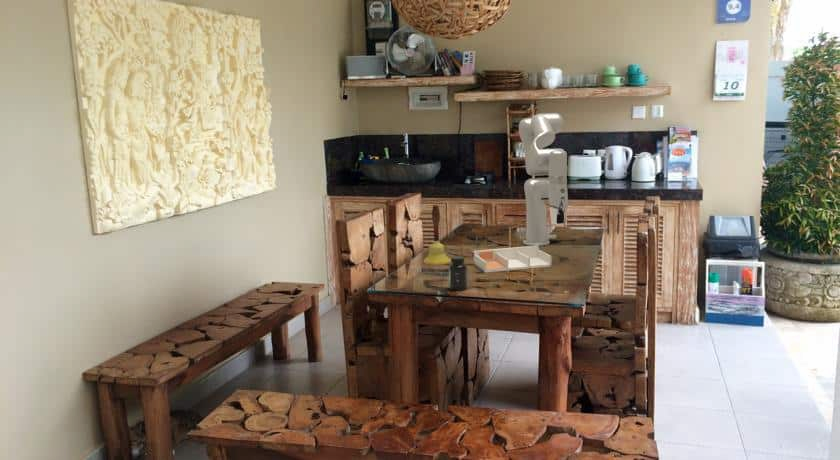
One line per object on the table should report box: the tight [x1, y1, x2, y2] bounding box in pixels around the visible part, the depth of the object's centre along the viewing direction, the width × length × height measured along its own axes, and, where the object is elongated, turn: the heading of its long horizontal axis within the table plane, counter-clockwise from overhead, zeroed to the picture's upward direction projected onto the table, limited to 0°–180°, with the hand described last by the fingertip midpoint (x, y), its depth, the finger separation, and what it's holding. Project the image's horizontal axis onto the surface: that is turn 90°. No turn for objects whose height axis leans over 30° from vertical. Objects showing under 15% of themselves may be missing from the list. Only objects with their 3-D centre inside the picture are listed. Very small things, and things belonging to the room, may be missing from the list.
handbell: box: [423, 204, 451, 265], centre depth 313 cm, size 12×12×25 cm
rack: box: [473, 245, 552, 274], centre depth 302 cm, size 29×15×6 cm, turn 103°
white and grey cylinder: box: [549, 206, 567, 225], centre depth 304 cm, size 7×7×7 cm
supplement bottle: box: [448, 255, 468, 291], centre depth 270 cm, size 7×7×12 cm
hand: (557, 221), depth 305 cm, fingers closed on white and grey cylinder, 5 cm apart
